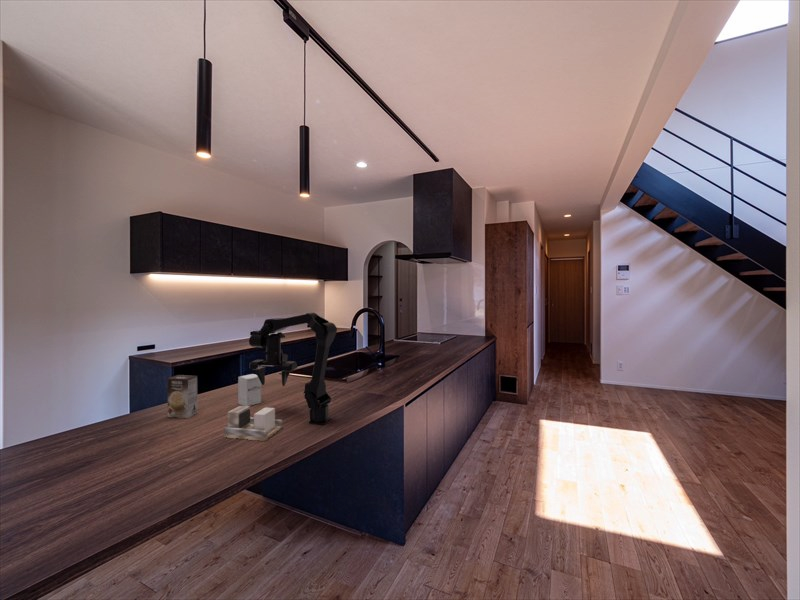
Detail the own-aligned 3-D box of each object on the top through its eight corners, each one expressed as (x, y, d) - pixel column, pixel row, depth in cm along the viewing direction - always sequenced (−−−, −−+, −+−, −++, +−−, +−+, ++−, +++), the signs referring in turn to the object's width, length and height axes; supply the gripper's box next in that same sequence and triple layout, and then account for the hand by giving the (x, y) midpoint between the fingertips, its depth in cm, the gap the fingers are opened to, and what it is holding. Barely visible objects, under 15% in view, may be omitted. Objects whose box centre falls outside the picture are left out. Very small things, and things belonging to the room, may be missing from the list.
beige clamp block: (282, 427, 131) (282, 406, 131) (265, 441, 120) (264, 417, 119) (244, 424, 134) (243, 403, 134) (223, 437, 123) (223, 414, 122)
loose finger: (275, 426, 129) (274, 408, 129) (264, 434, 122) (264, 414, 122) (263, 425, 130) (263, 407, 130) (252, 433, 123) (252, 413, 123)
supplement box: (246, 407, 154) (246, 378, 154) (237, 403, 158) (237, 376, 158) (261, 402, 160) (261, 375, 159) (253, 399, 164) (252, 373, 164)
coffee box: (166, 417, 141) (166, 378, 140) (178, 412, 147) (177, 374, 147) (187, 418, 140) (187, 379, 140) (198, 413, 146) (198, 375, 146)
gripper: (303, 346, 151) (302, 381, 152) (263, 344, 154) (263, 379, 155) (290, 350, 140) (290, 388, 141) (248, 348, 143) (248, 386, 144)
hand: (273, 385), depth 145 cm, fingers open, 9 cm apart
